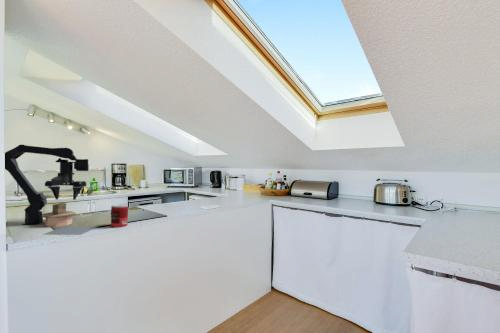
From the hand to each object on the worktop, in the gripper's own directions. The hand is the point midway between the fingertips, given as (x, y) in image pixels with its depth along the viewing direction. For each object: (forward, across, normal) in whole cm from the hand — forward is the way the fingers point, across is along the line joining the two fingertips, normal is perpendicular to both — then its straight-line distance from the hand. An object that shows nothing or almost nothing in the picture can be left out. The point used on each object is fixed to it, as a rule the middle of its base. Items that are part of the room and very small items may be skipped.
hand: (65, 199), depth 140 cm
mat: (+12, +16, -19) cm, 28 cm away
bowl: (+12, +2, -8) cm, 14 cm away
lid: (+7, +2, -8) cm, 11 cm away
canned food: (+12, +33, -9) cm, 36 cm away
